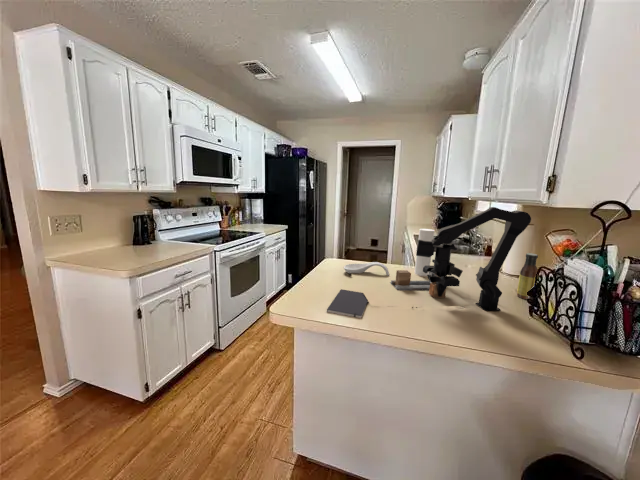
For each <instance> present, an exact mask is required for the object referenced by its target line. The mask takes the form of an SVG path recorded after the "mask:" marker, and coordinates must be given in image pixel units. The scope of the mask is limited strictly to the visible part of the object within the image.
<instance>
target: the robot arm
mask: <svg viewBox="0 0 640 480" xmlns="http://www.w3.org/2000/svg"><path fill="white" fill-rule="evenodd" d="M494 219H497V220H500V221H504V222H505V224H504V232H503V233H502V236H501V237H500V239H499V242H498V243H497V246H496V248H495V249H494V251H493V253H492V256H491V258H490V259H489V261H488V263H487V264H486V265H485V266H484V267H482V266H479V268H478V271H477V273H476V274H475V276H476V278H475V279H476V282H477V284H478V286H479V287H480V288H481V289H480V293H479V297H478V302H475V305H476V306H477V307H479V308H481V309H482V310H484V311H486V312H492V311H493V312H499V311H500V312H501V310H502V309H501V308H499V307H498V306H499V299H500V298H501V296H502V294H503V292H502V290H501V289H500V288H499V287H498V286H497V285H498V282H499V276H500V270H501V268H502V266H503V264H504V263H505V261H506V259H507V257H508V256H509V253H510V252H511V249H512V247H513V245H514V244H515V242H516V240H517V238H518V237H519V236H520V235H521V234H522V233H523V232H524V231H525V230H526V229H527V227H529V225H530V224H531V222H532V217H531V215H530V214H529V213H528V212H526V211H522V210H512V211H510V210H509V211H508V210H504V209H501V208H498V207H494V206H490V207H488V208H487V209H486V210H483V211H482V212H480V213H478V214H475V215H473V216H471V217H469V218H468V219H465V220H462V221H461V222H459V223H456V224H451V225H447V226H445V227H441V228H440V229H439V230H438V231H437V235H436V236H434V239H433V240H432V241H423V240H418V241H417V246H416V252H415V253H416V254H415V255H416V256H422V257H431V258H432V257H433V256H434V259H431V260H432V261H431V262H432V263H433V265H430V266H424V267H423V272H424V273H427V272H429V275H427V276H426V277H427V278H428V281H430V283H431V282H436V286H437V292H438V296H439V297H441V296H442V294H443V293H444V291H445V289H446V290H447V288H448V287H460V282H461V281H460V280H459V279H458V278H460V277H461V275H462V273H463V270H462V269H461V268H459V267H456V266H455V265H456V264H455V263H453V262H452V261H451V257H452V250H454V251H457V250H458V248H457V246H456V245H455V243H454V241H456V240H457V239H458V238H460V237H461V236H462V235H463V234H464V233H466V232H469V231H471V230H473V229H475V228H476V227H479V226H481V225H484V224H485V223H488V222H490V221H492V220H494ZM434 254H435V255H434ZM416 256H415V257H416Z"/></svg>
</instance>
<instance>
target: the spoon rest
mask: <svg viewBox="0 0 640 480" xmlns="http://www.w3.org/2000/svg"><path fill="white" fill-rule="evenodd" d="M374 266H378V267H380V268H382V269H383V270H384V271H385V275H386V276H389V274H390V271H389V268H388V267H387V266H386V265H385V264H384V263H381V262H378V261H372V262H366V263H365V262H364V263H349V264H348V263H347V264H345V265H344V266H343V270H344V271H345V272H346V273H347V274H350V275H352V274H363V273H365V272H366V271H367V270H368V269H370V268H372V267H374Z"/></svg>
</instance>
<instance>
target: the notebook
mask: <svg viewBox="0 0 640 480" xmlns="http://www.w3.org/2000/svg"><path fill="white" fill-rule="evenodd" d="M368 301H369V299H368V298H367V297H366V295H365V294H364V292H361V291H360V292H359V291H356V290H347V289H341V288H340V290H339V292H338V293H337V294H336V295H335V297H334V299H333V300H332V302H331V303H330V305H329V306H328V307H327V308H326V312H327V313H331V314H332V313H333V314H338V315H342V316H343V315H344V316H348V317H354V318H361V319H362V317H363V315H364V312H365V310H366V307H367V304H368Z"/></svg>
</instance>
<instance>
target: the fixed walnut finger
mask: <svg viewBox="0 0 640 480" xmlns="http://www.w3.org/2000/svg"><path fill="white" fill-rule="evenodd" d="M395 272H396V273H395V280H396V282H395V285H409V283H410V281H411V279H412V278H411V277H412V273H411V272H410V271H409V270H407V269H405V270H403V269H401V270H400V269H397V270H396V271H395Z"/></svg>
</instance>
